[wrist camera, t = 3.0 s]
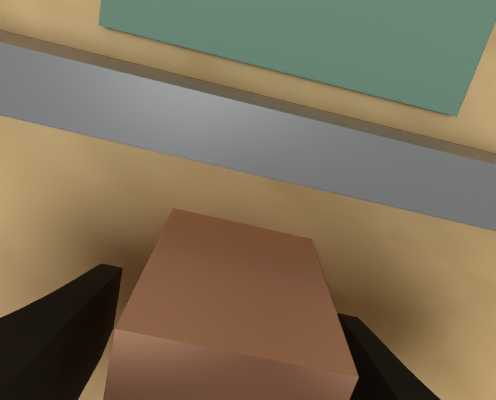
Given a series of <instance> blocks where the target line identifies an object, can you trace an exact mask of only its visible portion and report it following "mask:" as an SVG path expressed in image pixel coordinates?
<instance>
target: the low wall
mask: <svg viewBox="0 0 496 400" xmlns="http://www.w3.org/2000/svg"><path fill="white" fill-rule="evenodd" d="M0 115H2V116H6V117H10V118H14V119H19V120H23V121H27V122H31V123H36V124H40V125H44V126H49V127H53V128H57V129H61V130H66V131H70V132H74V133H79V134H83V135H87V136H91V137H96V138H100V139H104V140H108V141H113V142H117V143H121V144H126V145H130V146H134V147H138V148H143V149H147V150H151V151H156V152H160V153H164V154H168V155H173V156H177V157H181V158H185V159H190V160H194V161H198V162H203V163H207V164H211V165H215V166H220V167H224V168H228V169H233V170H237V171H241V172H245V173H250V174H254V175H258V176H263V177H267V178H271V179H275V180H280V181H284V182H288V183H292V184H297V185H301V186H305V187H310V188H314V189H318V190H322V191H327V192H331V193H335V194H340V195H344V196H348V197H352V198H357V199H361V200H365V201H369V202H374V203H378V204H382V205H387V206H391V207H395V208H399V209H404V210H408V211H412V212H417V213H421V214H425V215H429V216H434V217H438V218H442V219H446V220H451V221H455V222H459V223H464V224H468V225H472V226H476V227H481V228H485V229H489V230H494V231H496V154H495V153H491V152H487V151H483V150H479V149H475V148H470V147H466V146H462V145H458V144H454V143H450V142H446V141H442V140H438V139H434V138H430V137H426V136H422V135H418V134H414V133H410V132H406V131H402V130H398V129H394V128H390V127H386V126H382V125H378V124H374V123H370V122H366V121H362V120H358V119H354V118H350V117H346V116H342V115H338V114H334V113H330V112H326V111H322V110H318V109H314V108H310V107H306V106H302V105H298V104H294V103H290V102H286V101H282V100H278V99H274V98H270V97H266V96H262V95H258V94H254V93H250V92H246V91H242V90H238V89H234V88H230V87H226V86H222V85H218V84H214V83H210V82H206V81H202V80H198V79H194V78H190V77H186V76H182V75H178V74H174V73H170V72H166V71H162V70H158V69H154V68H150V67H146V66H142V65H138V64H134V63H130V62H126V61H122V60H118V59H114V58H110V57H106V56H102V55H98V54H94V53H90V52H86V51H82V50H78V49H74V48H70V47H66V46H62V45H58V44H54V43H50V42H46V41H42V40H38V39H34V38H30V37H26V36H22V35H18V34H14V33H10V32H6V31H2V30H0Z"/></svg>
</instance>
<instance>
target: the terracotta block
mask: <svg viewBox="0 0 496 400" xmlns="http://www.w3.org/2000/svg"><path fill="white" fill-rule="evenodd" d="M358 378H359V376H358V373H357V370H356V368H355V365H354V362H353V359H352V356H351V353H350V350H349V347H348V344H347V341H346V339H345V336H344V333H343V330H342V327H341V324H340V321H339V318H338V315H337V312H336V310H335V307H334V304H333V301H332V298H331V295H330V292H329V289H328V286H327V283H326V281H325V278H324V275H323V272H322V269H321V266H320V263H319V260H318V257H317V254H316V252H315V249H314V246H313V243H312V240H311V239H308V238H303V237H299V236H294V235H290V234H285V233H281V232H276V231H272V230H267V229H263V228H258V227H254V226H249V225H245V224H240V223H236V222H231V221H227V220H222V219H218V218H213V217H209V216H204V215H200V214H195V213H191V212H187V211H182V210H178V209H173V211H172V213H171V215H170V217H169V219H168V221H167V223H166V225H165V227H164V229H163V231H162V233H161V235H160V237H159V239H158V241H157V243H156V245H155V247H154V250H153V252H152V254H151V256H150V258H149V260H148V262H147V264H146V266H145V268H144V270H143V272H142V274H141V276H140V278H139V280H138V282H137V284H136V286H135V288H134V290H133V292H132V294H131V296H130V298H129V301H128V303H127V305H126V307H125V309H124V311H123V313H122V315H121V317H120V319H119V321H118V323H117V325H116V327H115V329H114V336H113V342H112V348H111V355H110V361H109V367H108V374H107V380H106V386H105V393H104V399H103V400H349V399H350V397H351V395H352V392H353V390H354V387H355V385H356V383H357V380H358Z"/></svg>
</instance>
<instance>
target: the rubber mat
mask: <svg viewBox="0 0 496 400" xmlns="http://www.w3.org/2000/svg"><path fill="white" fill-rule="evenodd" d="M495 22H496V0H101V7H100V16H99V26H103V27H107V28H111V29H115V30H119V31H123V32H127V33H131V34H134V35H138V36H142V37H146V38H150V39H154V40H158V41H162V42H166V43H170V44H174V45H178V46H182V47H185V48H189V49H193V50H197V51H201V52H205V53H209V54H213V55H217V56H221V57H225V58H229V59H232V60H236V61H240V62H244V63H248V64H252V65H256V66H260V67H264V68H268V69H272V70H276V71H279V72H283V73H287V74H291V75H295V76H299V77H303V78H307V79H311V80H315V81H319V82H323V83H326V84H330V85H334V86H338V87H342V88H346V89H350V90H354V91H358V92H362V93H366V94H370V95H374V96H377V97H381V98H385V99H389V100H393V101H397V102H401V103H405V104H409V105H413V106H417V107H421V108H424V109H428V110H432V111H436V112H440V113H444V114H448V115H452V116H456V117H457V115H458V112H459V110H460V107H461V105H462V103H463V100H464V98H465V95H466V93H467V90H468V88H469V85H470V83H471V81H472V78H473V76H474V73H475V71H476V68H477V66H478V63H479V61H480V58H481V56H482V54H483V51H484V49H485V46H486V44H487V41H488V39H489V36H490V34H491V31H492V29H493V27H494V24H495Z"/></svg>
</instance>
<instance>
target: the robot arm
mask: <svg viewBox="0 0 496 400" xmlns="http://www.w3.org/2000/svg"><path fill="white" fill-rule="evenodd" d="M122 270H123V268H120V267H115V266H110V265H106V264H100V265H98V266H96V267H95V268H93V269H91V270H90V271H88V272H86V273H85V274H83V275H81V276H80V277H78V278H76V279H75V280H73V281H71V282H70V283H68V284H66V285H64V286H63V287H61V288H59V289H57V290H56V291H54V292H52V293H50V294H49V295H47V296H45V297H43V298H41V299H39V300H37V301H35V302H33V303H31V304H29V305H27V306H25V307H23V308H21V309H19V310H17V311H15V312H12V313H10V314H8V315H6V316H3V317H1V318H0V400H78V398H79V396H80V395H81V393H82V391H83V389H84V388H85V386H86V384H87V382H88V380H89V379H90V377H91V375H92V373H93V371H94V370H95V368H96V366H97V364H98V362H99V361H100V359H101V356H102V354H103V352H104V349H105V347H106V344H107V342H108V340H109V337H110V335H111V332H112V330H113V327H114V321H115V314H116V308H117V301H118V295H119V289H120V282H121V276H122ZM337 315H338V318H339V321H340V324H341V327H342V330H343V333H344V336H345V339H346V341H347V344H348V347H349V350H350V353H351V356H352V359H353V362H354V365H355V368H356V370H357V373H358V376H359V378H358V380H357V383H356V385H355V387H354V390H353V392H352V395H351V397H350V399H349V400H440V399H439V398H438V397H437V396H436V395H435V394H434V393H433V392H432V391H430V390H429V389H428V388H427V387H426V386H425V385H424V384H423V383H422V382H421V381H420V380H419V379H418V378H417V377H416V376H415V375H414V374H413V373H412V372H411V371H409V370H408V369H407V368H406V367H405V366H404V365H403V363H402V362H401V361H400V360H399V359H398V358H397V357H396V356H395V355H394V354H393V353H392V352H391V351H390V350H389V349H388V348H387V347H386V346H385V345H384V344H383V343H382V342H381V341H380V340H379V338H378V337H377V336H376V335H375V334H374V333H373V332H372V331H371V330H370V329H369V328H368V327H367V326H366V325H365V324H364V323H363V322H362V321H361V320H360V319H358V318H357V317H353V316H349V315H344V314H339V313H337Z"/></svg>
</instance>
